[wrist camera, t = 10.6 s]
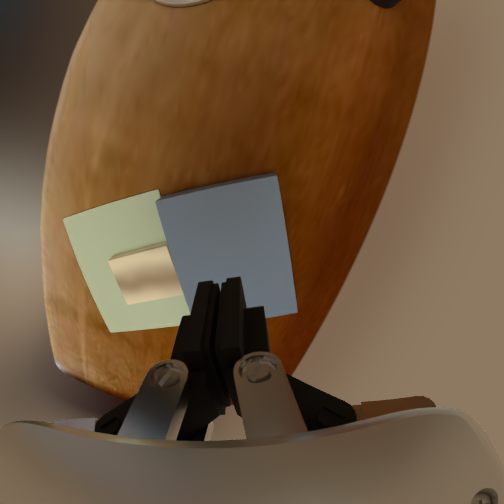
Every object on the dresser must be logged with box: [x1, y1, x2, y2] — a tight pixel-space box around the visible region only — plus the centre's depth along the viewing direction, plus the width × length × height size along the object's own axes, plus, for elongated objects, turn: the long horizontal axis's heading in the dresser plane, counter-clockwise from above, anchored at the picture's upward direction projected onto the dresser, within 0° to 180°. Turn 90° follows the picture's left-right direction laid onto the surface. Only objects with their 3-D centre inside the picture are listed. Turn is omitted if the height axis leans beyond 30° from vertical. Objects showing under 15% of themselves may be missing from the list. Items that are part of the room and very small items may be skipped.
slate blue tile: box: [155, 173, 297, 318], centre depth 35 cm, size 18×14×3 cm
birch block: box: [108, 241, 183, 305], centre depth 36 cm, size 7×9×2 cm
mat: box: [63, 189, 190, 332], centre depth 37 cm, size 20×16×1 cm
